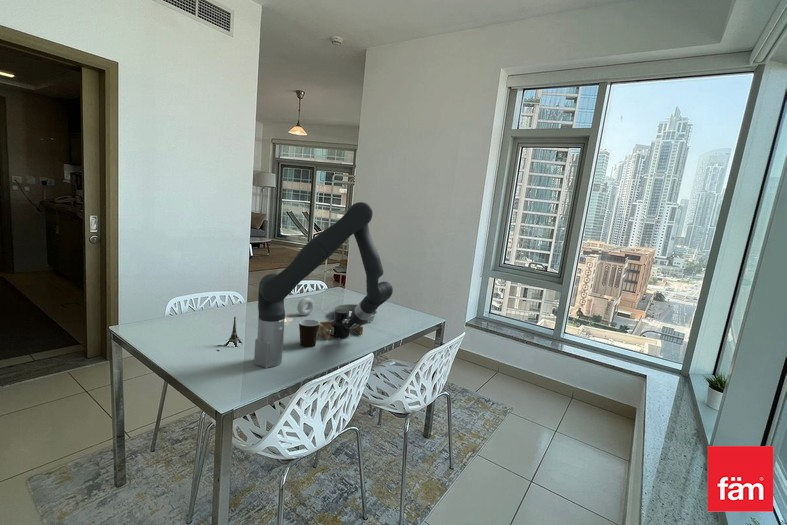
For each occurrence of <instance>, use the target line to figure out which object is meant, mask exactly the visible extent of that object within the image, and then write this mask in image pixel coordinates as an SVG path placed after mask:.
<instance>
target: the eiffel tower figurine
mask: <svg viewBox="0 0 787 525" xmlns="http://www.w3.org/2000/svg"><path fill="white" fill-rule="evenodd" d="M236 318H237V317H236V316H234V317H233V327H232V332H231V335H230V337H229V338H228V340H229V341H228V342H227V343H226V345H224V347H226V346H227V345H228V344H229V342H233V343H234V345H235V347H237V348H239V347H238V346H237V342H238V343H243V342H242V340H241V338H239V336H238V333H237V327H236V326H237V323H236V320H237V319H236Z"/></svg>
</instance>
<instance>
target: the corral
mask: <svg viewBox="0 0 787 525" xmlns="http://www.w3.org/2000/svg"><path fill="white" fill-rule="evenodd" d="M332 321H333V320H326V321H319V322H320V324H319V329H318V333H319V334H318V335H319V336H321V338H323V337H324V338H325V339H324V338H323V339H324V340H325V341H329V340H330V336H331V335H330V330H331V322H332ZM352 330H353V331H354V333H355V332H356V333H357V334H356V333H355V334H356V335H357V336H359V335H360V336H359V337H362V336H363V331H364V325H362V326H360V327H355V328H354V329H352ZM352 330H351V331H352ZM353 331H352V332H353ZM361 335H362V336H361Z"/></svg>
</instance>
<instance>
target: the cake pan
mask: <svg viewBox="0 0 787 525" xmlns="http://www.w3.org/2000/svg"><path fill="white" fill-rule="evenodd" d="M357 305H358V304H357V303H356V304H355V303H343V304H338V305H335V306H333V307H332V312H333V313H334V310H336V309H345V310H348V311H353V310H354V309H355V307H356V306H357ZM376 315H378V310H377V309H376V310H375V312H374V313H373V314H372V316H371V317H370V318H369V319H368V322H370V321H372V320H373V321H374V320H375V316H376ZM349 317H350V316H349ZM373 321H372V322H373ZM370 323H371V322H370Z"/></svg>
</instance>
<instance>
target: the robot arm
mask: <svg viewBox="0 0 787 525" xmlns="http://www.w3.org/2000/svg"><path fill="white" fill-rule="evenodd" d="M372 208H373V207H371V205H370V204H369V203H366V202H363V201H360V202H356V203H353V204H352V205H350V206H349V207H348V208H347V210H346V212H345V213H344V215H343V216H341V218H339V219H338V221H336V222H335V223H333V224H332V225H330V226H329V227H327V228H325V229H323V231H321V232H319V233H318V234H316V236H314V237H312V239H311V240H309V241H308V242H307V243H306V244H305V245H304V246H302V248H301V249H300V250H299V252H298V253H297V254H296V255H295V257H294V259H293V260H292V261H291V263H290V264H289V265H287V267H285V268H284V269H283V270H282V271H280V272H279V273H269V274H266V275H264V276H263V277H262V278H261V279H260V281H259V284H258V285H259V286H258V296H257V302H258V303H257V309H258V316H257V318H258V320H257V322H258V324H257V338H255V340H254V355H253V356H254V357H253V364H254V365H257V366H259V367H262V368H265V369H267V368H271V367H277V366H280V365H281V364H282V362H283V352H284V349H283V347H284V334H285V318H286V317H285V316H286V311H285V310H286V309H285V299H286V298H287V297H288V296H289V295H290V294H291V293H292V291H293V290H294V289H295V288H296V287H297V286H298V285H299V284H300V283H301V282H302V281H303V280H304V279H305V278H307V277H308V276H309V275H310V274H312V272H314V271H315V270H317V268H318V267H320V266H321V265H322V264H323V263H324V262H326V261H327V260H328V259H330V257H331V256H332V255H333V254H334V253H336V252H337V251H338V249H339V248H341V246H342V245H343V244H344V243H345V242H346V241H347V240H348V239H349V238H350V237H351V236H352V235H353V236H354V239H355V241H356V244H357V247H358V250H359V254H360V257H361V261H362V264H363V268H364V272H365V276H366V278H365V280H366V284H365V285H366V288H365V289H366V295H365V296H364V297H363V299H362V300H361V301H360V302H359V303H358V304H357V306H356V307H355V309H354V310H353V311H352V313H351V316H350V317H349V318H348V320H345V319H343V320H342V322H343V325H344V327H345V329H346V331H347V332H352V329H354V328H355V327H360V326H364V325H366V324H369V323H368V319H369V318H370V317H371V316H372V314H373V313H374V312H375V310H377V309H378V308H380V306H381V305H383V304H384V303H386V302H387V301H388V300H390V298H391V297H392V295H393V292H394V291H393V290H394V288H393V285H392V284H391V283H390V282H388V281H380V282H379V279H380V278H381V277H382V276H383V275H384V269H383V263H382V261H381V257H380V255H379V252H378V249H377V247H376V246H375V244H374V241H373V238H372V237H371V236H372V235H371V233H370V228H369V224H370V222H371V220H372V218H373V215H374V214H373V213H374V212H373V209H372ZM348 322H349V323H348ZM347 323H348V324H347Z"/></svg>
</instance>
